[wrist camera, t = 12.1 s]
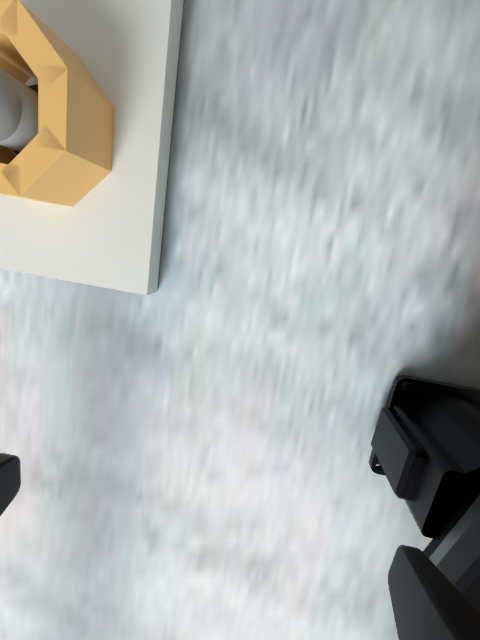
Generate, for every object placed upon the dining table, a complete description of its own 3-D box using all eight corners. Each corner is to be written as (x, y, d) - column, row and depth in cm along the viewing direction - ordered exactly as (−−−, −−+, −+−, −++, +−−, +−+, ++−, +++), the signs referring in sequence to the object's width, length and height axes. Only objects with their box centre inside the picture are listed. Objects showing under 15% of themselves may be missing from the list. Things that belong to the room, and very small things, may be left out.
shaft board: (184, -11, 15) (123, -183, 9) (157, 291, 19) (100, 311, 13) (-41, -34, 16) (-230, -202, 10) (-24, 258, 19) (-155, 263, 14)
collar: (117, 59, 15) (68, 2, 11) (109, 213, 16) (64, 203, 13) (-18, 42, 15) (-103, -17, 12) (-12, 192, 17) (-85, 179, 13)
